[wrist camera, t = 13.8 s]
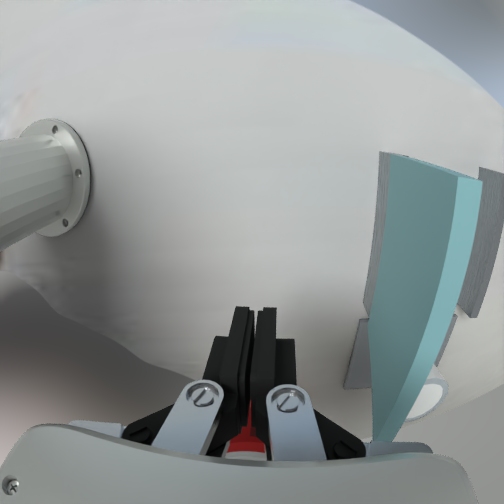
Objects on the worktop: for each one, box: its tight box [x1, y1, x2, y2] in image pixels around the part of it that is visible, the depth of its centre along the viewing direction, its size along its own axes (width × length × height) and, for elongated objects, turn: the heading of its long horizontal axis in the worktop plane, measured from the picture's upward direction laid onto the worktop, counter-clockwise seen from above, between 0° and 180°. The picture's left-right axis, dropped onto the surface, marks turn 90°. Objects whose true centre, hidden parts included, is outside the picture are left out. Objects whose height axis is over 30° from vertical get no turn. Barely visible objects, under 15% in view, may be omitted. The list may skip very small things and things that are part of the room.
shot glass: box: [404, 364, 448, 422], centre depth 25 cm, size 7×7×7 cm
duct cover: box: [367, 154, 483, 442], centre depth 15 cm, size 12×14×1 cm
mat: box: [343, 314, 458, 389], centre depth 28 cm, size 12×10×1 cm
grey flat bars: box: [363, 152, 504, 318], centre depth 22 cm, size 12×14×4 cm
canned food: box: [225, 400, 266, 461], centre depth 28 cm, size 8×8×11 cm
